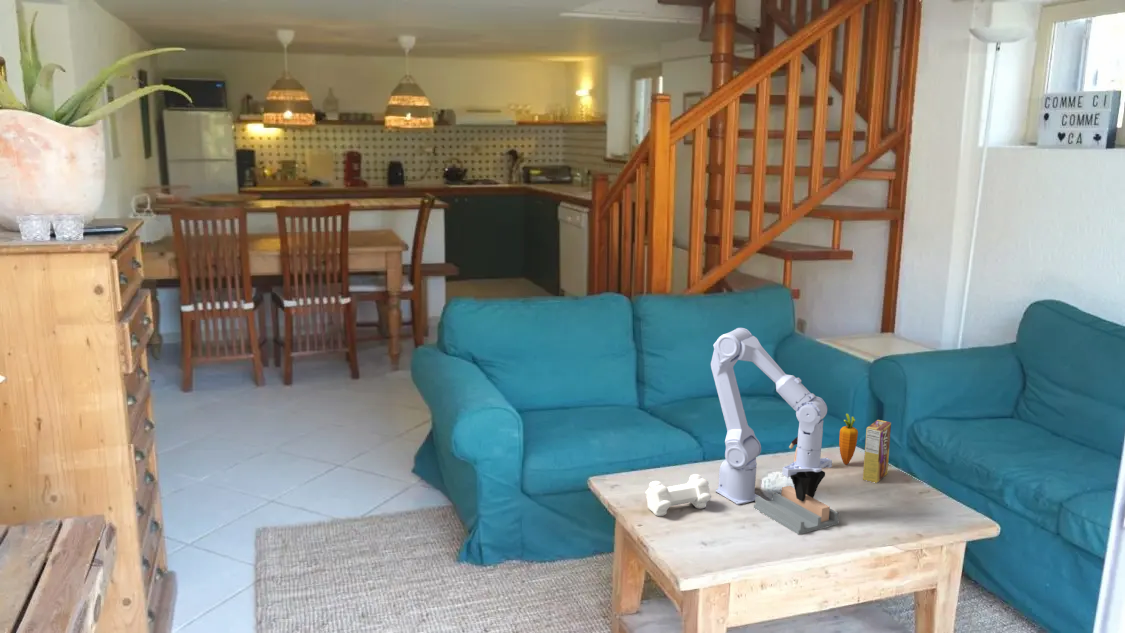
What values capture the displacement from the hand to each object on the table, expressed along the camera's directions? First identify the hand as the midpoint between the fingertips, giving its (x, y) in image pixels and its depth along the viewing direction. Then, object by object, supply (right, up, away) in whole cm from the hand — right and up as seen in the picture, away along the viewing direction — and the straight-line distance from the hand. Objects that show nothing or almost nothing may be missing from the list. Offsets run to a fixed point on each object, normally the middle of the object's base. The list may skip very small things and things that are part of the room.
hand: (804, 498), depth 212 cm
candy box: (+26, 0, +25) cm, 36 cm away
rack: (-2, -4, 0) cm, 5 cm away
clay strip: (0, -3, +1) cm, 3 cm away
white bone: (-31, -3, +3) cm, 32 cm away
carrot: (+21, +2, +33) cm, 39 cm away
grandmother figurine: (+8, +2, +31) cm, 32 cm away
